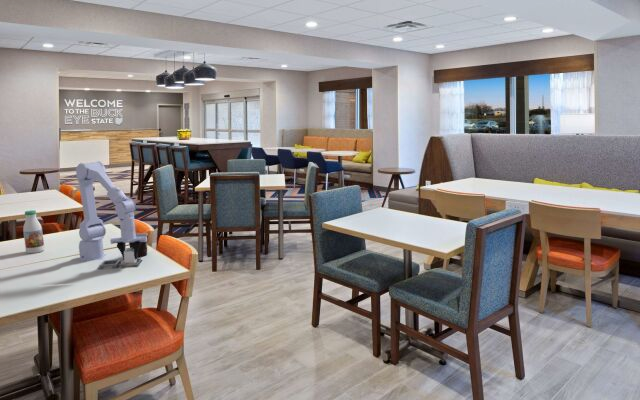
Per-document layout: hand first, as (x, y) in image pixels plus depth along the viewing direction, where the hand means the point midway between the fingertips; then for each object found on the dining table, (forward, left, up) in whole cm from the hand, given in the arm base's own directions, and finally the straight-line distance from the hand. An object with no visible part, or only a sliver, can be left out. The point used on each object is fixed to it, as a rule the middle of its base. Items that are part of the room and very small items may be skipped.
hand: (130, 258), depth 199 cm
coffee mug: (+1, +14, -3) cm, 14 cm away
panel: (-4, 0, -3) cm, 5 cm away
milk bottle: (-52, +33, -3) cm, 61 cm away
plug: (0, 0, -2) cm, 2 cm away
